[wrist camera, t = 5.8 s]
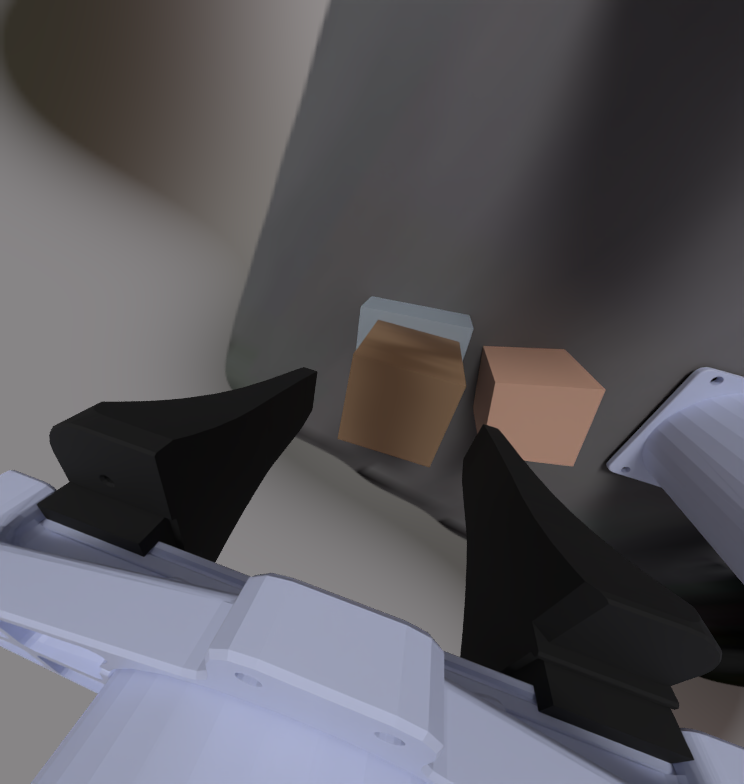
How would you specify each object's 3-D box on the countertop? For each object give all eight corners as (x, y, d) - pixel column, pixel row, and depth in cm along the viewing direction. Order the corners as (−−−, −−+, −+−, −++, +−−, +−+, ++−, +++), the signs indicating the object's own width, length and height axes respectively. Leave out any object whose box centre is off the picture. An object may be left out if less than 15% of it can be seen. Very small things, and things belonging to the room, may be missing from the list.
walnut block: (459, 341, 15) (466, 386, 11) (432, 409, 17) (429, 467, 13) (378, 319, 15) (353, 353, 11) (362, 388, 18) (337, 438, 13)
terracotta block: (564, 348, 16) (605, 389, 12) (543, 412, 19) (572, 466, 14) (483, 345, 17) (495, 382, 13) (472, 407, 20) (480, 455, 15)
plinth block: (469, 313, 17) (473, 328, 14) (442, 396, 20) (442, 420, 18) (372, 295, 18) (361, 306, 15) (361, 378, 21) (350, 398, 18)
